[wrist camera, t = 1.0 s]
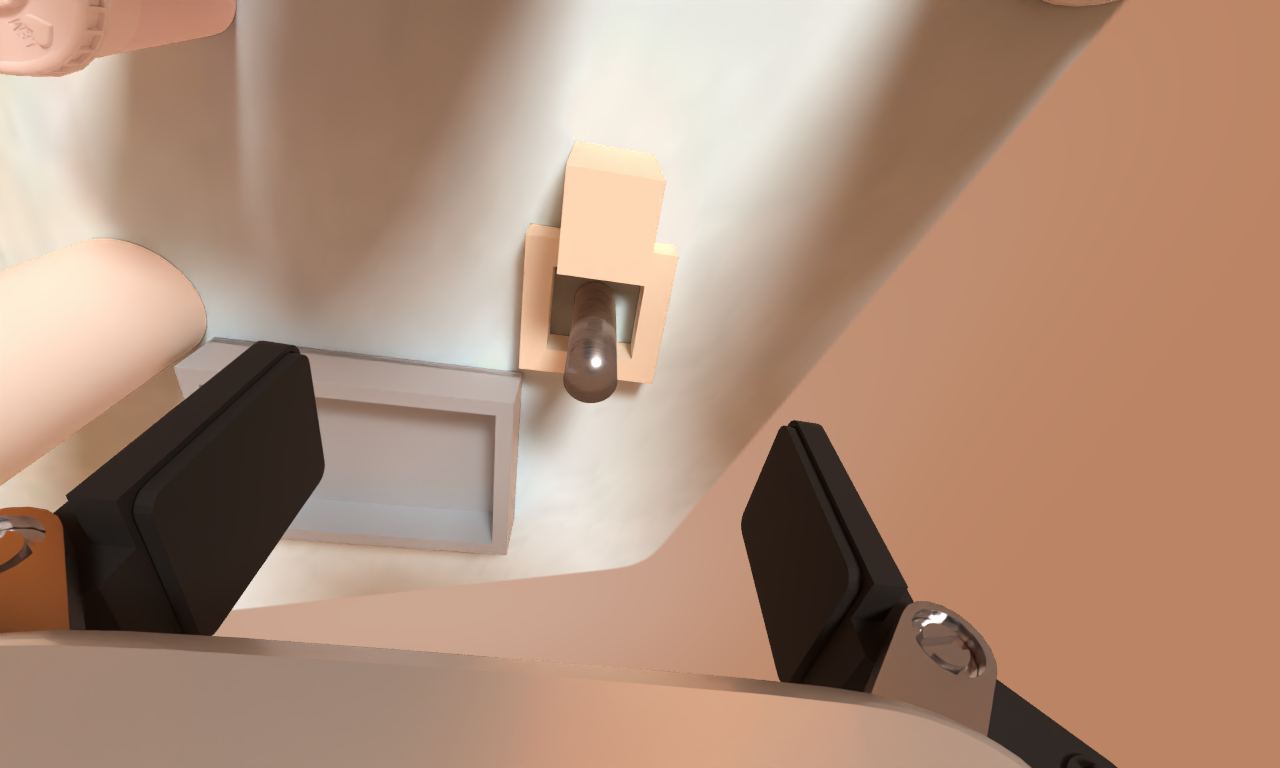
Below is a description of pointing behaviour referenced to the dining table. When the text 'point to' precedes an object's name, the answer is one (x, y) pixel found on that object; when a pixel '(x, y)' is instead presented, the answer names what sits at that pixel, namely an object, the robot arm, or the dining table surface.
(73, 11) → the smoothie
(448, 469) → the tray
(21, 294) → the cylindrical container
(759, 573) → the robot arm
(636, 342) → the beige stepped block
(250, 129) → the dining table surface
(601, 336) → the post
